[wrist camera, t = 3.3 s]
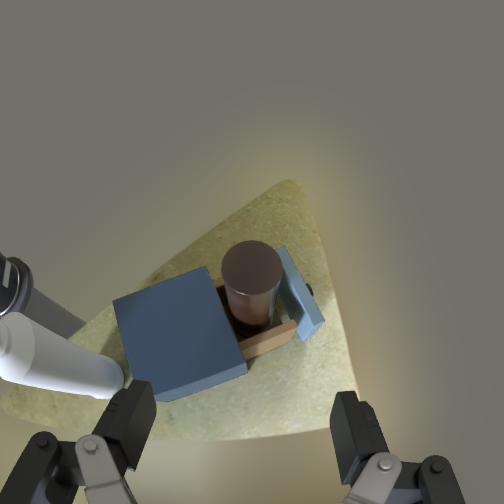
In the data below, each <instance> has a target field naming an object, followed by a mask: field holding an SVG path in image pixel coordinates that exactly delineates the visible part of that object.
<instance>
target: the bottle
mask: <svg viewBox="0 0 504 504" xmlns="http://www.w3.org/2000/svg"><path fill="white" fill-rule="evenodd" d="M0 376H1V377H2V378H3V379H4V380H6V381H10V382H15V383H19V384H24V385H29V386H34V387H39V388H44V389H50V390H56V391H62V392H69V393H76V394H84V395H91V396H93V397H95V398H98V399H110V398H112V397H113V395H114V394H115V393H116V392H118V391H119V390H120V389H122V387H123V384H124V375H123V372H122V369H121V367H120V366H119V365H118V364H117V363H116V362H115V361H114V360H113V359H111V358H109V357H107V356H105V355H97V354H95V353H93V352H91V351H89V350H86V349H84V348H82V347H80V346H78V345H76V344H74V343H72V342H70V341H69V340H67V339H65V338H63V337H61V336H59V335H57V334H55V333H54V332H52V331H50V330H48V329H46V328H45V327H43V326H41V325H39V324H38V323H36V322H34V321H32V320H31V319H29V318H27V317H26V316H24V315H23V314H21V313H19V312H10V313H8V314H7V315H5V316H3V317H2V318H1V319H0Z"/></svg>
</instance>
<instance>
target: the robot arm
mask: <svg viewBox="0 0 504 504" xmlns="http://www.w3.org/2000/svg"><path fill="white" fill-rule="evenodd" d="M21 285H22V277H21V272H20V270H19V268H18V267H17V266H16V265H15V264H14V263H12V262H10V261H9V260H8V259H7V258H6V257H4V256H3V255H2V254H1V253H0V317H2V316H4V315H6V314H7V313H9V312H10V311H11V310H12V308H13V307H14V305H15V304H16V302H17V300H18V297H19V294H20V291H21ZM155 417H156V402H155V398H154V393H153V389H152V385H151V382H149V381H143V380H137V379H133V380H132V382H131V384H130V386H129V387H128V389H125V388H122V389H120V390H119V391H118V392H116V393H115V394H114V395H113V397H112V399H111V400H110V402H109V404H108V406H107V407H106V410H105V411H104V413H103V414H102V416H101V418H100V420H99V421H98V423H97V425H96V427H95V429H94V430H93V432H92V434H91V435H86V436H83V437H81V438H80V439H79V440H78V441H77V442H68V441H58V440H57V438H56V437H55V436H54V435H53V434H52V433H50V432H45V431H42V432H38V433H36V434H34V435H33V436H32V438H31V439H30V441H29V442H28V444H27V446H26V447H25V449H24V451H23V452H22V454H21V456H20V458H19V459H18V461H17V463H16V465H15V467H14V468H13V470H12V472H11V474H10V475H9V477H8V479H7V481H6V483H5V485H4V487H3V489H2V491H1V493H0V504H72V503H73V500H74V498H75V495H76V493H77V490H78V487H79V486H86V488H85V489H84V490H85V495H86V498H87V500H88V503H89V504H137V502H136V500H135V498H134V496H133V494H132V492H131V490H130V488H129V486H128V484H127V482H126V479H125V477H124V475H125V472H126V470H130V471H134V472H135V470H136V467H137V464H138V462H139V459H140V457H141V453H142V451H143V448H144V446H145V443H146V441H147V438H148V435H149V433H150V430H151V427H152V425H153V422H154V420H155ZM330 430H331V434H332V439H333V444H334V448H335V453H336V458H337V462H338V468H339V473H340V478H341V483H342V485H346V484H350V486H351V490H350V492H349V493H348V494H347V496H346V497H345V498H344V500H343V501H342V503H341V504H465V501H464V498H463V495H462V493H461V490H460V487H459V485H458V482H457V480H456V477H455V474H454V472H453V470H452V467H451V464H450V463H449V461H448V460H447V459H446V458H444V457H442V456H438V455H433V456H430V457H427V458H426V459H425V460H424V461H423V462H422V463H410V462H403V461H400V459H399V458H398V457H397V456H395V455H394V454H391V453H390V452H389V449H388V447H387V444H386V441H385V439H384V436H383V433H382V431H381V428H380V426H379V423H378V420H377V419H376V415H375V412H374V410H373V408H372V407H371V406H370V405H369V404H368V403H367V402H366V401H362V402H359V400H358V398H357V395H356V392H355V391H344V392H337V394H336V397H335V400H334V404H333V408H332V411H331V415H330Z"/></svg>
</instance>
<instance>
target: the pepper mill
mask: <svg viewBox="0 0 504 504" xmlns="http://www.w3.org/2000/svg"><path fill="white" fill-rule="evenodd" d="M282 269H283V267H282V261H281V258H280V256H279V254H278V253H277V252H276V251H275V250H274V249H273V248H272V247H271V246H269V245H268V244H266V243H263V242H260V241H244V242H241V243H238V244H236V245H234V246H233V247H232V248H231V249H229V251H228V252H227V253H226V254H225V256H224V258H223V261H222V265H221V271H222V276H223V281H224V285H225V290H226V294H227V299H228V303H229V308H230V312H231V318H232V322H233V325H234V328H235V330H236V331H237V333H238V334H239V335H241V336H242V337H244V338H247V339H248V338H251V337H253V336H256V335H258V334H260V333H263V332H265V331H267V330H269V329H270V326H271V324H272V320H273V313H274V309H275V304H276V299H277V295H278V290H279V285H280V280H281V276H282Z"/></svg>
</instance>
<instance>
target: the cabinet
mask: <svg viewBox="0 0 504 504" xmlns="http://www.w3.org/2000/svg"><path fill="white" fill-rule="evenodd" d="M113 306H114V310H115V315H116V319H117V323H118V327H119V331H120V335H121V338H122V342H123V346H124V349H125V353H126V356H127V360H128V363H129V366H130V370H131V373H132V376H133V379H137V380H143V381H149V382H151V385H152V389H153V393H154V398H155V401H161V402H169V401H172V400H175V399H178V398H181V397H184V396H187V395H190V394H193V393H196V392H199V391H202V390H204V389H207V388H210V387H213V386H215V385H218V384H221V383H223V382H226V381H229V380H231V379H234V378H236V377H239V376H241V375H244V374H246V373H248V370H247V364H246V360H245V358H244V356H243V354H242V351H241V349H240V347H239V344H238V342H237V340H236V338H235V335H234V333H233V331H232V328H231V326H230V323H229V321H228V319H227V316H226V314H225V312H224V309H223V307H222V304H221V302H220V300H219V297H218V295H217V292H216V290H215V287H214V285H213V282H212V280H211V277H210V275H209V272H208V270H207V267H206V266H203V267H200V268H198V269H195V270H192V271H190V272H187V273H185V274H182V275H179V276H177V277H174V278H171V279H169V280H166V281H163V282H161V283H158V284H156V285H153V286H150V287H148V288H145V289H142V290H140V291H137V292H134V293H132V294H129V295H127V296H124V297H121V298H119V299H116V300H114V301H113Z"/></svg>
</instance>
